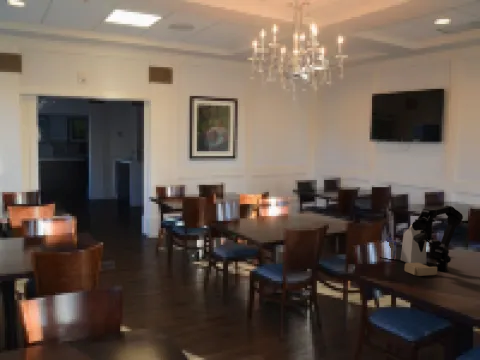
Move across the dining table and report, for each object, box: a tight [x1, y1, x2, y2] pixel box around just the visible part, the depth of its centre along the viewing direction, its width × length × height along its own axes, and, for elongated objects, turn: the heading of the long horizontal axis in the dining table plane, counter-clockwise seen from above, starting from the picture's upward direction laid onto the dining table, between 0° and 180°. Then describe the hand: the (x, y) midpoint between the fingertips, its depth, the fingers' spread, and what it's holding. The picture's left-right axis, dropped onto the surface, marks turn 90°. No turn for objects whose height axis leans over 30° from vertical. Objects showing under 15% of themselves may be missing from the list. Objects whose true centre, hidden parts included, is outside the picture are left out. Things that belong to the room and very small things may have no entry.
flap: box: [415, 266, 438, 277], centre depth 281 cm, size 14×1×5 cm, turn 108°
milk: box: [400, 223, 427, 265], centre depth 313 cm, size 12×12×26 cm
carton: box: [404, 262, 430, 276], centre depth 286 cm, size 10×10×5 cm
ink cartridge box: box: [380, 237, 397, 260], centre depth 321 cm, size 10×6×14 cm, turn 55°
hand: (426, 253), depth 287 cm, fingers open, 9 cm apart
